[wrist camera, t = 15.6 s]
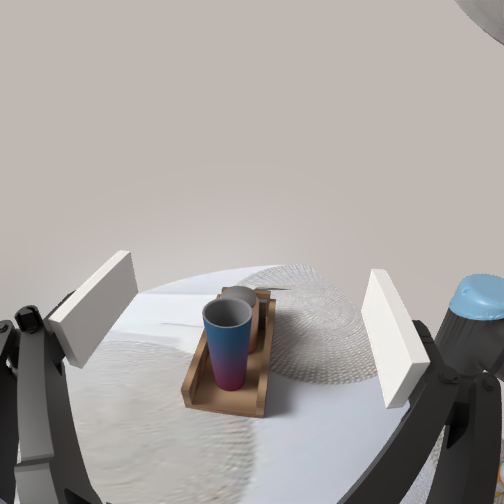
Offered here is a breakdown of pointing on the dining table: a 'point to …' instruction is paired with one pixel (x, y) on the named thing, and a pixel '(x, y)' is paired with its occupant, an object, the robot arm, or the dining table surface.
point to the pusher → (261, 314)
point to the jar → (253, 301)
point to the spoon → (273, 287)
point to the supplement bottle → (500, 480)
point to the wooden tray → (254, 390)
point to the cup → (228, 340)
